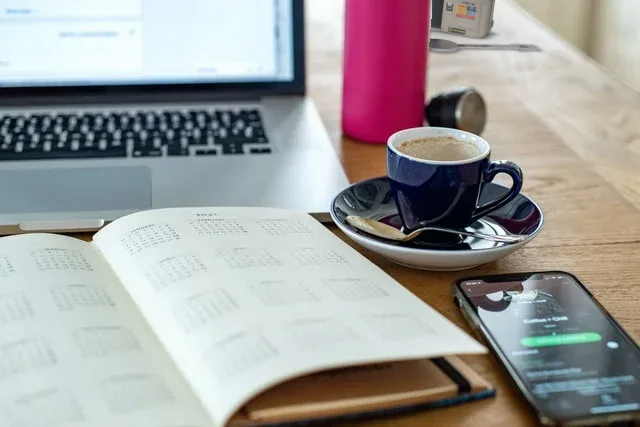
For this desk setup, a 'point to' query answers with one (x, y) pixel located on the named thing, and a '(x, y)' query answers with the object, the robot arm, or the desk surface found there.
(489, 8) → the grey cardboard box
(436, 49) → the spoon
